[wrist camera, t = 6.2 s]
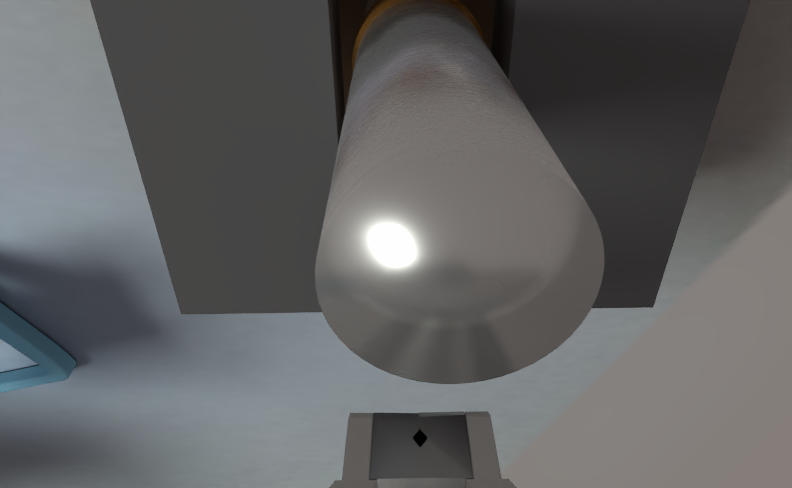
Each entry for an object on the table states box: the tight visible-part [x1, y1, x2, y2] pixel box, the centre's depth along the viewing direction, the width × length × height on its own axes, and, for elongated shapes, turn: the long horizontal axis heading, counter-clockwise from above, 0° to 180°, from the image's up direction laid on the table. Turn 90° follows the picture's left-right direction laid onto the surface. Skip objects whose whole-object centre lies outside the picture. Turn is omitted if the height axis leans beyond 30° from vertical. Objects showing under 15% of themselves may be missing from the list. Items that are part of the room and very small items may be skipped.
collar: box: [90, 0, 750, 314], centre depth 13 cm, size 14×14×2 cm
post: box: [315, 0, 604, 384], centre depth 11 cm, size 3×3×14 cm
